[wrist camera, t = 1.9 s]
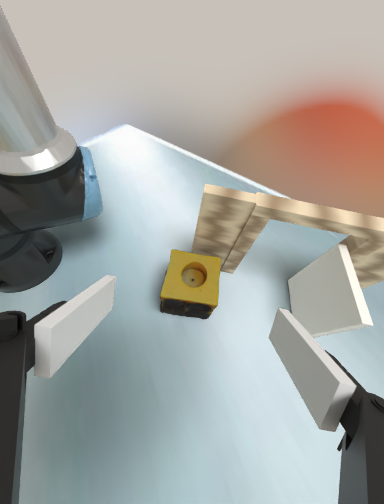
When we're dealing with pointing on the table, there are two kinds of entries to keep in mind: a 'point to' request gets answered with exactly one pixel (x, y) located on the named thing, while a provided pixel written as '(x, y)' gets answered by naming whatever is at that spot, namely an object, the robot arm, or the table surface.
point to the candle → (191, 285)
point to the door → (329, 295)
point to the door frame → (278, 208)
